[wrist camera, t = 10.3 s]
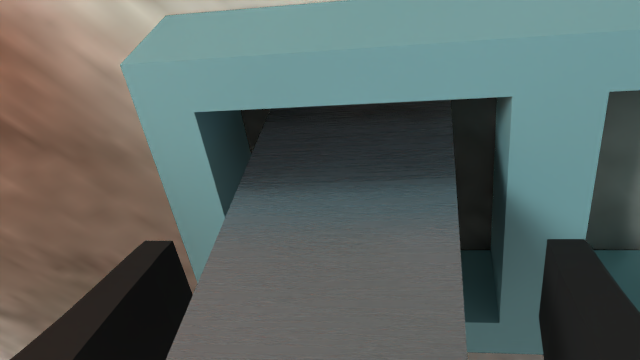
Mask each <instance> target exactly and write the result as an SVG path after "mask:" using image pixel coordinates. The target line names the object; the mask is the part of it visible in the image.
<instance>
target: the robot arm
mask: <svg viewBox="0 0 640 360" xmlns="http://www.w3.org/2000/svg"><path fill="white" fill-rule="evenodd" d="M192 296H193V295H192V292H191V289H190V286H189V284H188V281H187V278H186V276H185V273H184V270H183V267H182V265H181V262H180V259H179V257H178V254H177V251H176V248H175V246H174V243H173V241H144V242H143V243H142V244H141V245H140V246H139V247H137V248H136V249H135V250H134V251H133V252H132V253H131V254H130V255H128V256H127V257H126V258H125V259H124V260H123V261H122V262H121V263H120V264H119V265H118V266H116V267H115V268H114V269H113V270H112V271H111V272H110V273H109V274H108V275H107V276H106V277H105V278H104V279H102V280H101V281H100V282H99V283H98V284H97V285H96V286H95V287H94V288H93V289H92V290H90V291H89V292H88V293H87V294H86V295H85V296H84V297H83V298H82V299H81V300H79V301H78V302H77V303H76V304H75V305H74V306H73V307H72V308H71V309H70V310H68V311H67V312H66V313H65V314H64V315H63V316H62V317H61V318H59V319H58V320H57V321H56V322H55V323H53V324H52V325H51V326H50V327H49V328H47V329H46V330H45V331H44V332H43V333H42V334H40V335H39V336H38V337H37V338H36V339H34V340H33V341H32V342H31V343H30V344H29V345H27V346H26V347H25V348H24V349H23V350H21V351H20V352H19V353H18V354H16V355H15V356H14V357H13V358H11V359H10V360H166V358H167V356H168V353H169V351H170V348H171V346H172V344H173V341H174V339H175V337H176V334H177V332H178V329H179V327H180V325H181V322H182V320H183V317H184V315H185V313H186V310H187V308H188V305H189V303H190V301H191V298H192ZM539 324H540V332H541V340H542V347H543V355H544V360H640V312H639V311H638V310H637V308H636V307H635V306H634V305H633V303H632V302H631V301H630V299H629V298H628V297H627V296H626V294H625V293H624V292H623V290H622V289H621V288H620V286H619V285H618V284H617V282H616V281H615V280H614V278H613V277H612V276H611V274H610V273H609V272H608V270H607V269H606V267H605V266H604V265H603V263H602V262H601V260H600V259H599V258H598V256H597V255H596V253H595V252H594V250H593V249H592V247H591V246H590V244H589V243H588V242H586V241H585V240H584V239H547V246H546V255H545V264H544V273H543V282H542V291H541V300H540V309H539Z"/></svg>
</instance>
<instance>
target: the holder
mask: <svg viewBox="0 0 640 360" xmlns="http://www.w3.org/2000/svg"><path fill="white" fill-rule="evenodd" d="M120 66H121V69H122V72H123V75H124V77H125V80H126V83H127V86H128V89H129V91H130V94H131V97H132V100H133V103H134V106H135V108H136V111H137V114H138V117H139V120H140V122H141V125H142V128H143V131H144V134H145V136H146V139H147V142H148V145H149V148H150V151H151V153H152V156H153V159H154V162H155V165H156V167H157V170H158V173H159V176H160V179H161V181H162V184H163V187H164V190H165V193H166V196H167V198H168V201H169V204H170V207H171V210H172V212H173V215H174V218H175V221H176V224H177V226H178V229H179V232H180V235H181V238H182V241H183V243H184V246H185V249H186V252H187V255H188V257H189V260H190V263H191V266H192V269H193V271H194V274H195V277H196V280H197V283H198V281H199V279H200V277H201V274H202V272H203V269H204V267H205V265H206V262H207V260H208V258H209V255H210V253H211V250H212V248H213V246H214V243H215V241H216V238H217V236H218V234H219V231H220V229H221V226H222V224H223V222H224V219H225V217H226V214H227V212H228V210H229V207H230V205H231V202H232V200H233V198H234V195H235V193H236V190H237V188H238V186H239V183H240V181H241V179H242V176H243V174H244V171H245V169H246V167H247V164H248V162H249V159H250V157H251V152H250V148H249V144H248V140H247V135H246V131H245V127H244V123H243V119H242V115H241V110H250V109H270V108H290V107H311V106H331V105H351V104H371V103H391V102H412V101H432V100H452V99H472V98H493V97H497V103H496V128H495V153H494V178H493V203H492V228H491V250H460V252H461V267H462V283H463V299H464V314H465V330H466V345H467V352H476V353H509V354H541V355H543V347H542V340H541V332H540V324H539V309H540V300H541V291H542V282H543V273H544V264H545V255H546V246H547V239H584V240H586V234H587V228H588V221H589V215H590V209H591V203H592V196H593V190H594V184H595V178H596V172H597V165H598V159H599V153H600V147H601V141H602V134H603V128H604V122H605V116H606V109H607V103H608V97H609V92H614V91H634V90H640V0H347V1H335V2H323V3H311V4H299V5H287V6H275V7H263V8H251V9H239V10H227V11H215V12H203V13H191V14H180V15H168V16H165V17H164V18H163V19H162V20H161V21H160V22H159V23H158V24H157V26H156V27H155V28H154V29H153V30H152V31H151V32H150V33H149V34H148V35H147V36H146V37H145V38H144V39H143V41H142V42H141V43H140V44H139V45H138V46H137V47H136V48H135V49H134V50H133V51H132V52H131V53H130V55H129V56H128V57H127V58H126V59H125V60H124V61H123V62H122V63H121V64H120ZM594 252H595V253H596V255H597V256H598V258H599V259H600V260H601V262H602V263H603V265H604V266H605V267H606V269H607V270H608V272H609V273H610V274H611V276H612V277H613V278H614V280H615V281H616V282H617V284H618V285H619V286H620V288H621V289H622V290H623V292H624V293H625V294H626V296H627V297H628V298H629V299H630V301H631V302H632V303H633V305H634V306H635V307H636V308H637V310H638V311H639V312H640V250H594Z"/></svg>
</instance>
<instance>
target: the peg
mask: <svg viewBox="0 0 640 360" xmlns="http://www.w3.org/2000/svg"><path fill="white" fill-rule="evenodd" d="M166 360H467V345H466V330H465V314H464V299H463V283H462V267H461V252H460V236H459V221H458V205H457V190H456V174H455V159H454V143H453V128H452V112H451V100H432V101H412V102H391V103H371V104H351V105H331V106H311V107H290V108H271V109H270V111H269V114H268V116H267V119H266V121H265V123H264V126H263V128H262V131H261V133H260V135H259V138H258V140H257V143H256V145H255V147H254V150H253V152H252V155H251V157H250V159H249V162H248V164H247V167H246V169H245V171H244V174H243V176H242V179H241V181H240V183H239V186H238V188H237V190H236V193H235V195H234V198H233V200H232V202H231V205H230V207H229V210H228V212H227V214H226V217H225V219H224V222H223V224H222V226H221V229H220V231H219V234H218V236H217V238H216V241H215V243H214V246H213V248H212V250H211V253H210V255H209V258H208V260H207V262H206V265H205V267H204V269H203V272H202V274H201V277H200V279H199V281H198V284H197V286H196V289H195V291H194V293H193V296H192V298H191V301H190V303H189V305H188V308H187V310H186V313H185V315H184V317H183V320H182V322H181V325H180V327H179V329H178V332H177V334H176V337H175V339H174V341H173V344H172V346H171V348H170V351H169V353H168V356H167V358H166Z"/></svg>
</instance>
